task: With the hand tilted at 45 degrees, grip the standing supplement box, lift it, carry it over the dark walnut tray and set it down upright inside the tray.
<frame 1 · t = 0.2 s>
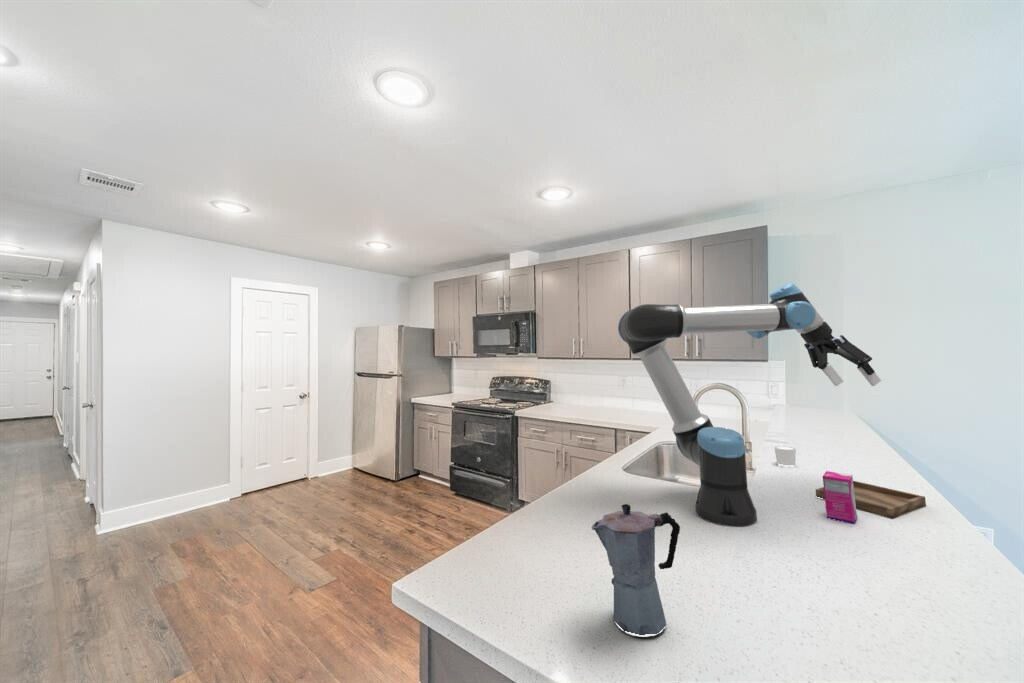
hand: (857, 383, 119), 34 cm above the counter, tool tilted 30°, fingers open, 13 cm apart
walnut tray: (868, 501, 114), on the counter
shot glass: (786, 466, 151), on the counter
supplement box: (841, 518, 104), on the counter
moka pot: (640, 622, 68), on the counter
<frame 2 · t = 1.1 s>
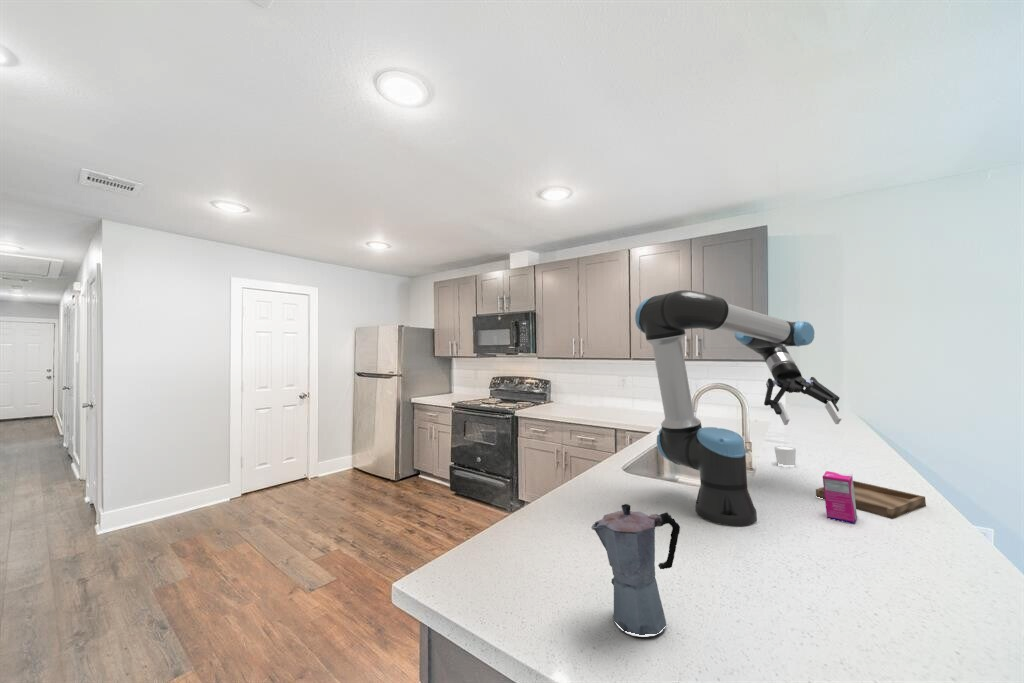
hand: (812, 422, 115), 24 cm above the counter, tool tilted 45°, fingers open, 13 cm apart
nothing on the counter moved.
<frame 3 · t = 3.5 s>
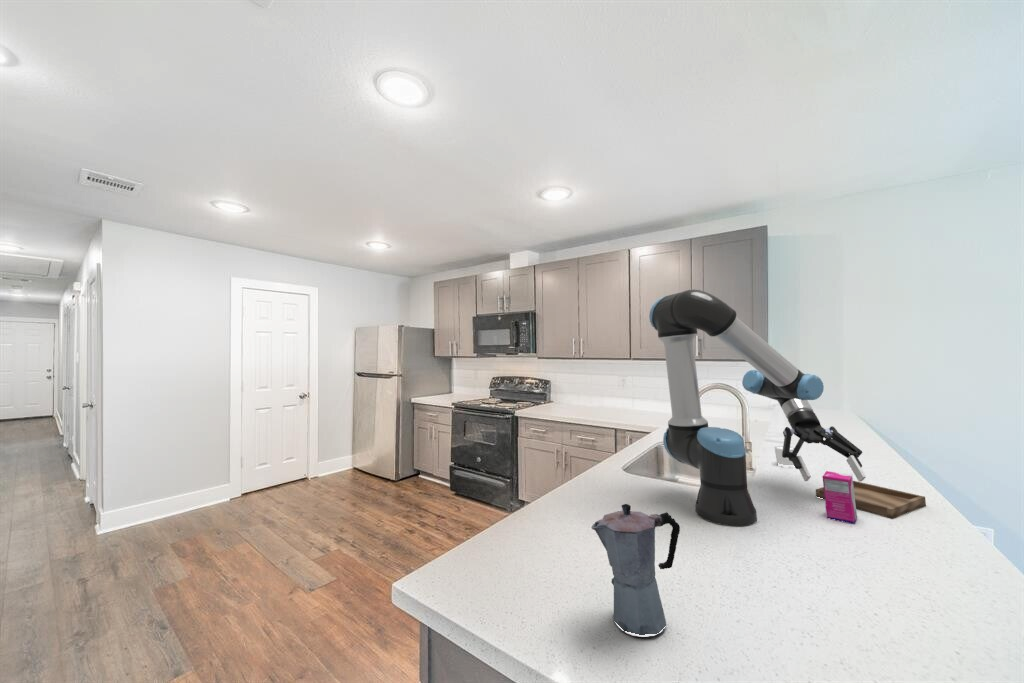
hand: (835, 479, 109), 9 cm above the counter, tool tilted 45°, fingers open, 13 cm apart
nothing on the counter moved.
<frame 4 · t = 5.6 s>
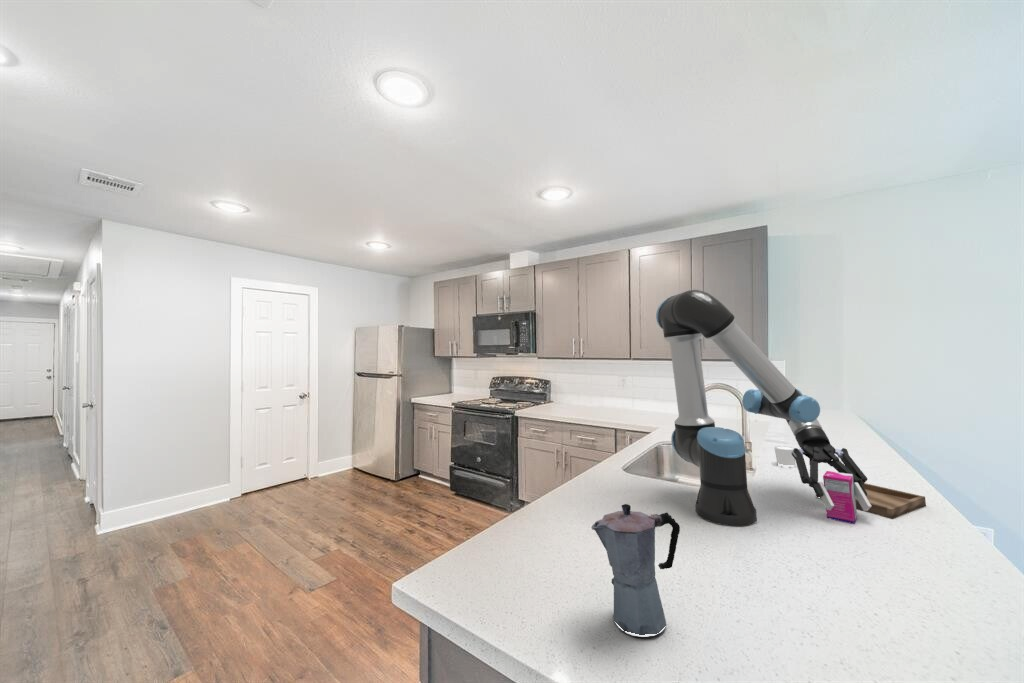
hand: (849, 508, 101), 4 cm above the counter, tool tilted 45°, fingers closed on supplement box, 8 cm apart
supplement box: (841, 518, 104), on the counter, touching gripper
everything else where it was.
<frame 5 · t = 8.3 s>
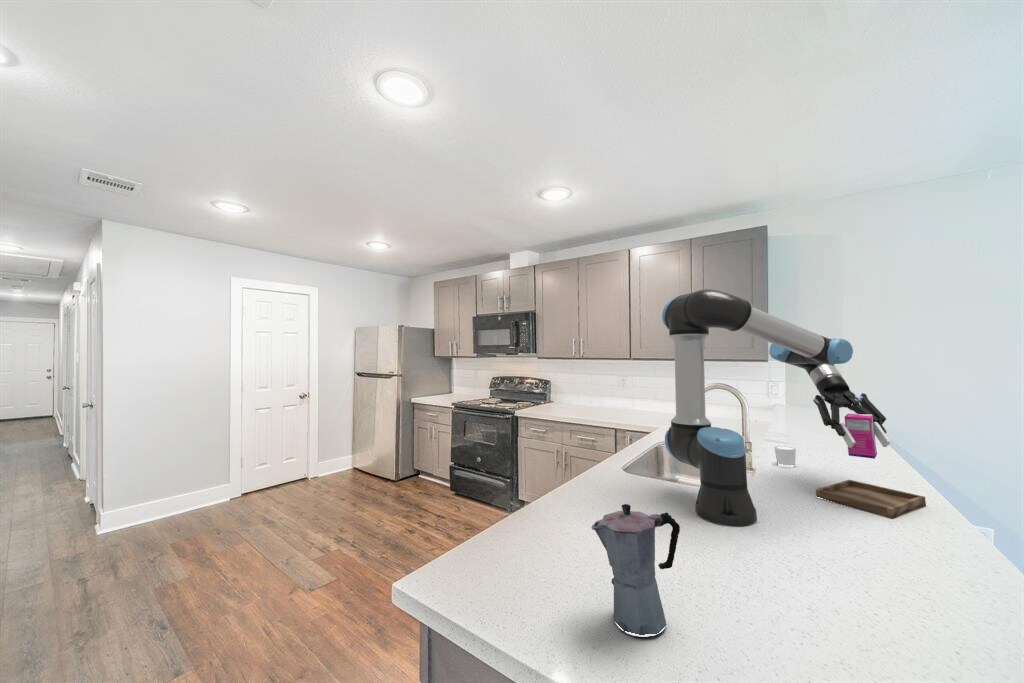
hand: (869, 444, 109), 18 cm above the counter, tool tilted 45°, fingers closed on supplement box, 8 cm apart
supplement box: (862, 455, 112), point 14 cm above the counter, touching gripper
everything else where it was.
when the fingers open (6 cm above the counter, at t = 11.0 s): supplement box drops 1 cm, resting on walnut tray.
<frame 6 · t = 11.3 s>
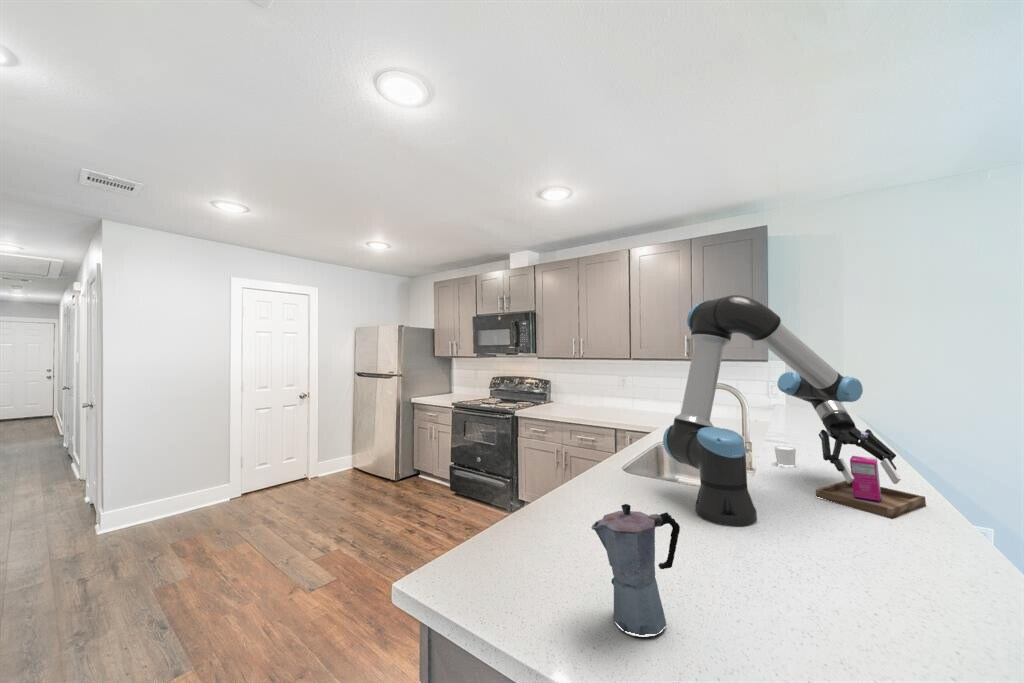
hand: (874, 481, 112), 7 cm above the counter, tool tilted 45°, fingers open, 11 cm apart
supplement box: (867, 498, 114), point 1 cm above the counter, touching walnut tray
everything else where it was.
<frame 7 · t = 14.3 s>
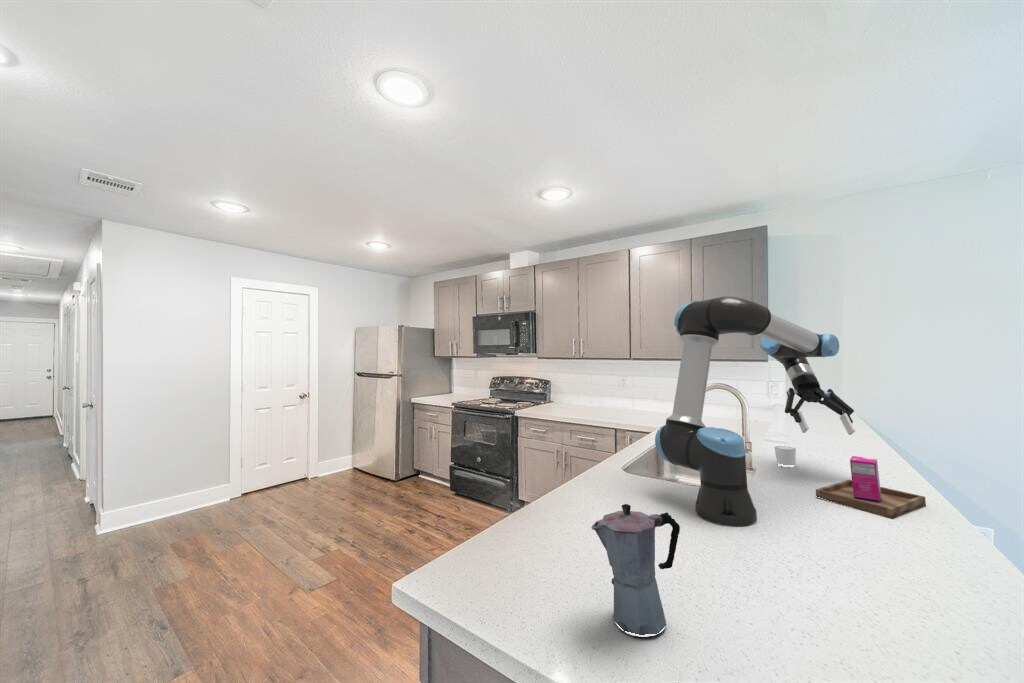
hand: (828, 431, 127), 18 cm above the counter, tool tilted 40°, fingers open, 13 cm apart
nothing on the counter moved.
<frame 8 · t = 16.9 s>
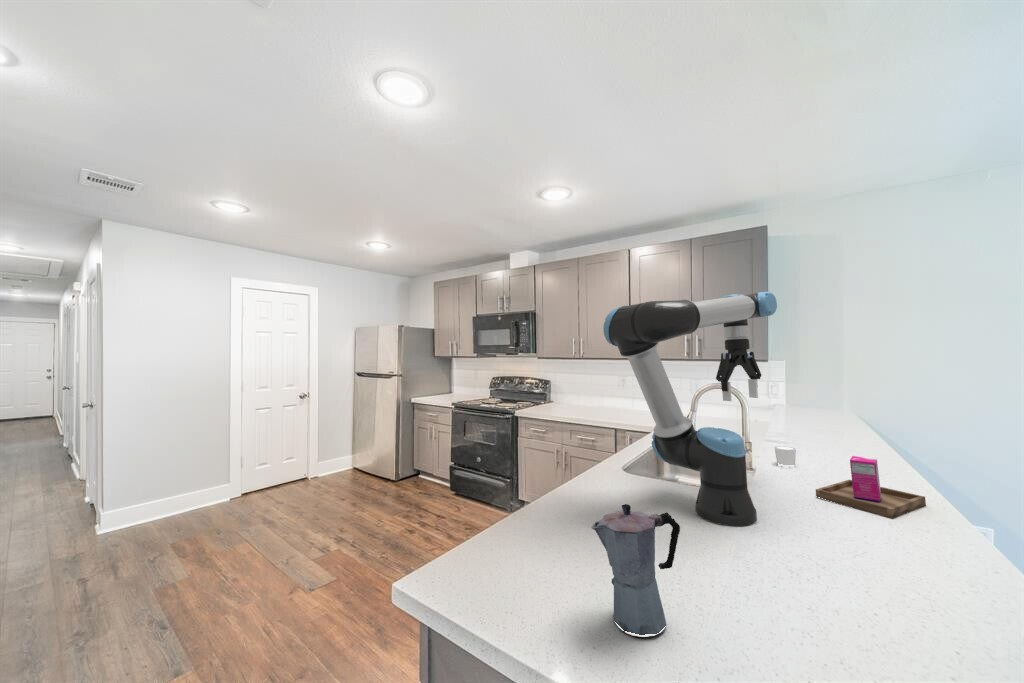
hand: (740, 399, 136), 29 cm above the counter, tool pointing down, fingers open, 13 cm apart
nothing on the counter moved.
at the end: supplement box inside the target area on the walnut tray (0.3 cm from its centre), point 0.8 cm above the walnut tray's base; supplement box tilted 0°; the gripper is holding nothing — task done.
